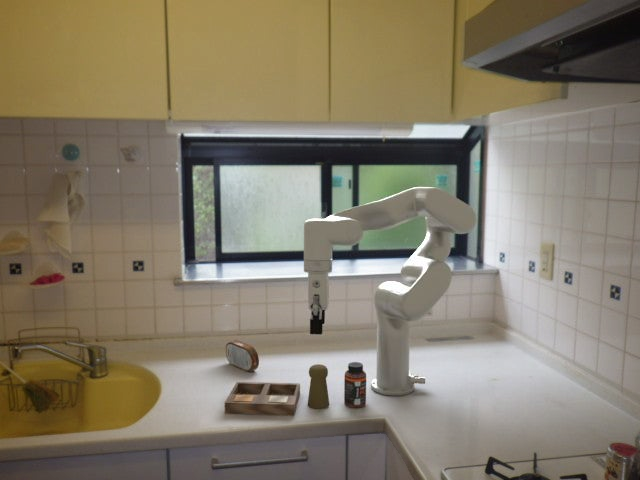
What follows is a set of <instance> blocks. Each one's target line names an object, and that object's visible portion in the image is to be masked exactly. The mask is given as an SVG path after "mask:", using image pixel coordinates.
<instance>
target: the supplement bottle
mask: <svg viewBox="0 0 640 480" xmlns="http://www.w3.org/2000/svg"><path fill="white" fill-rule="evenodd" d="M343 382H344V386H343V387H344V389H343V390H344V394H343V395H344V396H343V397H344V398H343V399H344V402H343V403H344V405H346V406H347V407H349V408H352V409H358V408H359V409H360V408H364V406H366V402H367V373H366V372H365V370H364V365H363V363H361V362H358V361H353V362H349V363H348V365H347V370H346V371H345V372H344V381H343Z"/></svg>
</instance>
